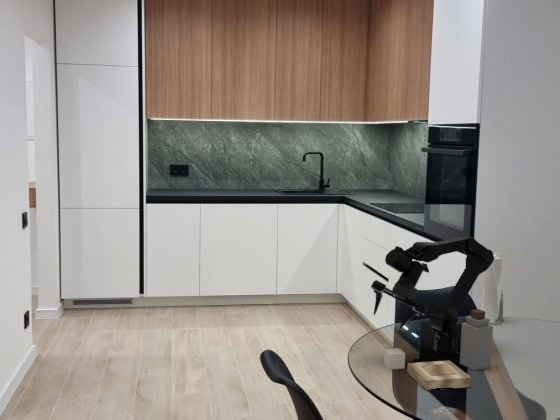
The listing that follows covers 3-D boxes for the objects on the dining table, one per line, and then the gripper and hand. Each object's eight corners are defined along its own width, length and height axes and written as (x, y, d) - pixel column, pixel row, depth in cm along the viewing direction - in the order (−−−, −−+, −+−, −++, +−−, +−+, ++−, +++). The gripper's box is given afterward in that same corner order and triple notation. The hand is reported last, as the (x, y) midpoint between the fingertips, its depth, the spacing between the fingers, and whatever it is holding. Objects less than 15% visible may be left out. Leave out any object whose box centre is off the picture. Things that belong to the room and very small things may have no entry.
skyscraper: (497, 326, 258) (501, 254, 254) (476, 322, 262) (479, 251, 258) (503, 320, 265) (507, 250, 261) (482, 317, 269) (486, 248, 265)
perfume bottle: (474, 370, 213) (477, 315, 211) (459, 363, 219) (462, 309, 217) (490, 367, 217) (493, 312, 214) (475, 360, 222) (478, 306, 220)
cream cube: (398, 362, 219) (399, 348, 219) (404, 368, 214) (405, 353, 214) (383, 363, 218) (384, 349, 218) (389, 369, 213) (390, 354, 213)
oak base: (449, 369, 214) (449, 359, 213) (470, 387, 200) (470, 376, 200) (407, 372, 211) (407, 362, 211) (426, 390, 197) (426, 380, 197)
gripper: (381, 261, 213) (358, 305, 212) (436, 289, 208) (413, 334, 206) (383, 266, 224) (361, 308, 222) (435, 293, 219) (413, 336, 217)
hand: (386, 321), depth 217 cm, fingers open, 9 cm apart
